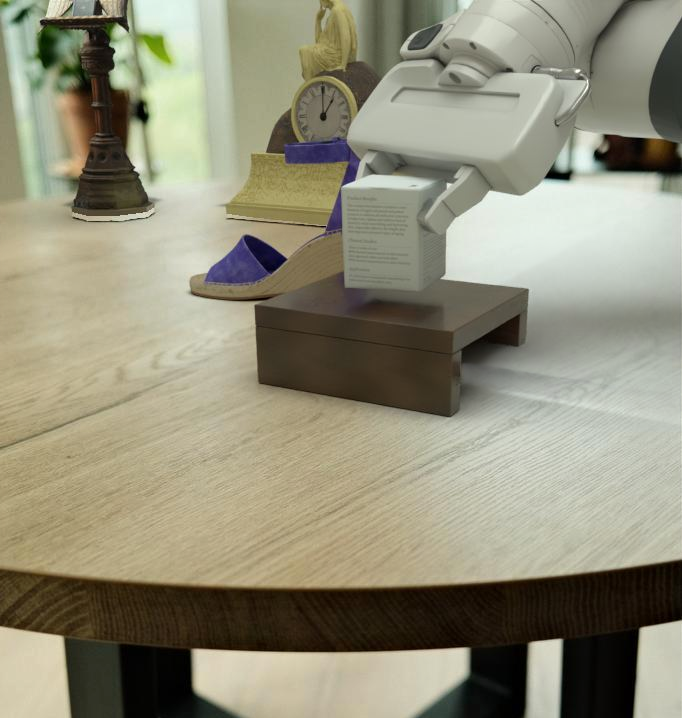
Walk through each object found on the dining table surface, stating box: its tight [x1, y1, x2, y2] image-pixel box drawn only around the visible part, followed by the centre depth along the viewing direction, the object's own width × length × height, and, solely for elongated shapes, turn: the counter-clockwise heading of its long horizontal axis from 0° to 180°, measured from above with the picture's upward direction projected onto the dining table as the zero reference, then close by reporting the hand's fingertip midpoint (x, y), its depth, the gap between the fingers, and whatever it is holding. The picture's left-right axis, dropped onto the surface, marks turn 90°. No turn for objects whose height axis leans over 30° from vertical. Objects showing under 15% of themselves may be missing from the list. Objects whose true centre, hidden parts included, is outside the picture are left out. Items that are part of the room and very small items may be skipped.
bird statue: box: [37, 0, 156, 216], centre depth 140 cm, size 17×13×35 cm
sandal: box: [188, 137, 361, 301], centre depth 100 cm, size 8×20×15 cm, turn 67°
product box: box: [341, 175, 448, 292], centre depth 74 cm, size 6×6×7 cm
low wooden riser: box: [253, 271, 530, 417], centre depth 78 cm, size 16×14×6 cm
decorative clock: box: [225, 0, 405, 225], centre depth 138 cm, size 28×13×30 cm, turn 60°
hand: (388, 218), depth 74 cm, fingers closed on product box, 8 cm apart
